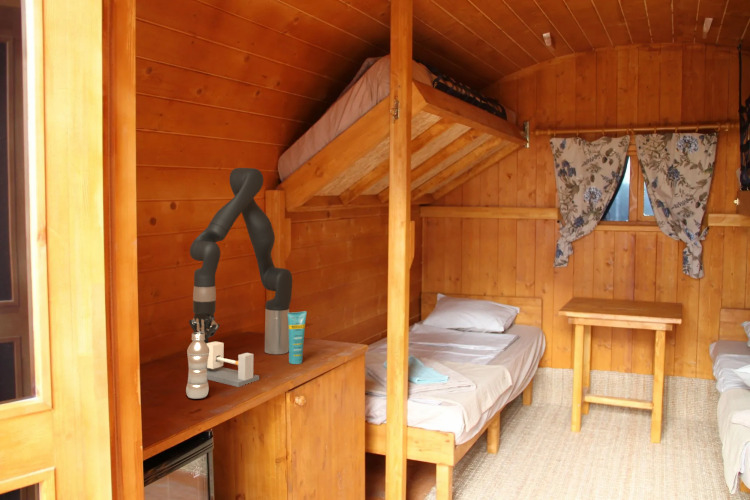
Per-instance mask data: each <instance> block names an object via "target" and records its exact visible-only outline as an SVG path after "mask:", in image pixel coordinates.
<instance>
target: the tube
mask: <svg viewBox="0 0 750 500" xmlns="http://www.w3.org/2000/svg"><path fill="white" fill-rule="evenodd" d="M307 313H308V312H307V310H304V311H297V312H289V313H288V327H289V351H288V363H289V364H290V365H291V364H292V365H300V364H302V363H303V355H304V342H305V330H306V329H305V328H306V321H307Z"/></svg>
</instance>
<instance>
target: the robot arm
mask: <svg viewBox="0 0 750 500" xmlns="http://www.w3.org/2000/svg"><path fill="white" fill-rule="evenodd" d="M228 178H229V185H230V188H231V191H232V193H233V196H234V197H233V198H231V199H230V200H229V201H228V202H227V203H225V204H224V205H223V206H222V207H221V208H220V209H218V210H217V212H216V213H215V214H214V215H213V217H212V218H211V220H210V222H209V223H208V226H207V227H206V228H205V229H204V230H203V231H202V232H201V233H200V234H199V235H198V236H197V237H196V238H195V239H194V240H193V241H192V243H191V245H190V248H189V256H190V257H191V258H192V259H193V260H195V261H197V262H202V265H201V267H200V268H197V269H195V271H194V274H193V291H192V292H193V293H192V312H193V314H194V315H193V318H192V319H189V320H188V323H189V325H190V327H191V329H192V331H193V333H195V332H202V333H204V334H205V340H204V342H205V343H210V341H209V338H211V337H212V338H213V337H214V336H215V334H216V332H217V331H218V329H219V328H220V326H221V325H220V323H219V322H218V323H217V322H216V321H215V313H216V309H217V307H216V305H217V304H216V303H217V299H216V298H217V293H216V291H217V290H216V274H217V273H216V272H217V269H218V266H219V262H220V259H221V249H220V247H219V244H218V243H217V242H221V241H224V239H226V236H227V235H228V234H229V232H230V231H231V229H232V228H233V225H234V223H235V222H236V221H237V219H238V217H239V216H240V215H241V214H242V218H243V221H244V223H245V227H246V229H247V234H248V237H249V241H250V242H251V245H252V248H253V252H254V255H255V258H256V262H257V263H256V264H257V267H258V273H259V276H260V280H261V281H260V282H261V284H262V286H263V287H264V289H266V290H267V291H270V292H274V297H273V298H272V299H269V300H266V302H265V315H264V316H265V317H264V318H265V322H264V325H265V326H264V353H266V354H270V355H284V354H287V353H289V327H288V313H290V305H291V302H292V292H293V275H292V272H291V270H289V269H287V268H282V267H276V266H275V264H274V261H273V258H272V251H273V249H274V245H275V241H276V236H275V235H276V234H275V232H274V229H273V225H272V222H271V220H270V218H269V216H268V215H267V214H266V213H265V211H263V210H262V208H261V207H260V206H259V204H258V203H257V201H256V199H255V197H256V195H257V194H258V193H259V192H260V191H261V189H262V187H263V185H264V175H263V173H262V172H261V170H260V169H258V168H253V167H236V168H233V169H232V170H231V171H230V174H229V177H228Z"/></svg>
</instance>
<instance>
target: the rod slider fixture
mask: <svg viewBox="0 0 750 500" xmlns="http://www.w3.org/2000/svg"><path fill="white" fill-rule="evenodd" d="M237 356H238V357H237V358H238V360H234V359H230V358H229V359H228V358H224V357H223V358H221V357H216V360H218V361H222V362H223V363H226V364H227V363H228V364H232V365H235V366H237V368H238V369H237V370H236V369H232V368H229V367H228V368H227V367H224V366H221V367H218V368H214V369H211V368H207V381H208V380H209V381H212V382H216V383H217V382H218V383H220V384H225V385H230V386H233V387H237V388H241V387H243V386H246V385H248V383H249V384H252V383H254V381H255V382H258V381H259V380H260V375H257V374H254V353H250V352H244V353H241V354H238V355H237ZM257 380H258V381H257ZM251 382H252V383H251ZM245 384H246V385H245Z"/></svg>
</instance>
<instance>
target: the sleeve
mask: <svg viewBox="0 0 750 500" xmlns="http://www.w3.org/2000/svg"><path fill="white" fill-rule="evenodd" d="M206 344H207V346H208V347H209V357H208V364H207V368H211V369H214V368H218V367H224V362H222V361H218V360H216V357H221V358H224V354H225V353H224V348H225V347H224V344H225V343H224V342H220V341H211V342H210V341H209V343H206Z"/></svg>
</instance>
